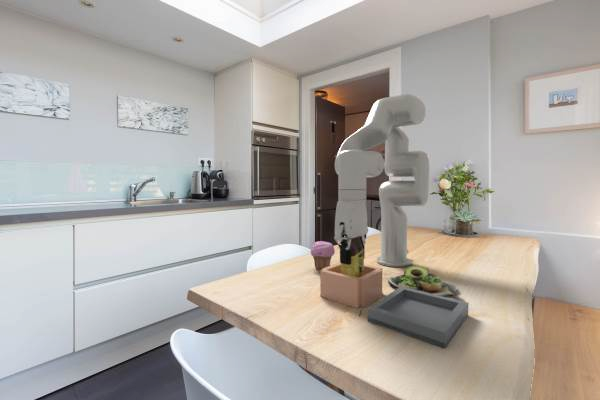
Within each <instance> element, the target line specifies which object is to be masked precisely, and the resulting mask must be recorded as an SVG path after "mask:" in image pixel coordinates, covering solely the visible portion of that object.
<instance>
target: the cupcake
mask: <svg viewBox="0 0 600 400" xmlns="http://www.w3.org/2000/svg"><path fill="white" fill-rule="evenodd" d="M335 253H336V251H335V247H334V244H333V243H331V242H327V241H323V240H320V241H315V242H314V243H313V244H312V246H311V249H310V255H311V257H313V260H314V261H313V262H314V267H315V269H316V270H317V271H321V270H322V269H323V268H326V267H328V266H331V261H332V257H333V256H334V254H335Z"/></svg>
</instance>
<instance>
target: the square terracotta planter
mask: <svg viewBox="0 0 600 400" xmlns="http://www.w3.org/2000/svg"><path fill="white" fill-rule="evenodd" d="M319 271H320V272H319V273H320V279H319V280H320V282H319V283H320V290H319V293H320V294H319V295H320V297H323V298H326V299H328V300H330V301H331V300H332V301H334V302H338V303H341V304H343V305H347V306H351V307H353V308H356V309H359V308H360V307H366V306H369V304H371V303H373V302H374V301H376V300H377V299H379V298H380V297H382V296H383V268H382V267H378V266H374V265H373V266H372V265H369V264H364V275H363V276H361V277H359V278H356V277H352V276H348V275H344V274H341V263H340V261H339V262H338V263H334V264H332V265H331V264H330V266H328V267H326V268H323V269H322V270H319Z"/></svg>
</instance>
